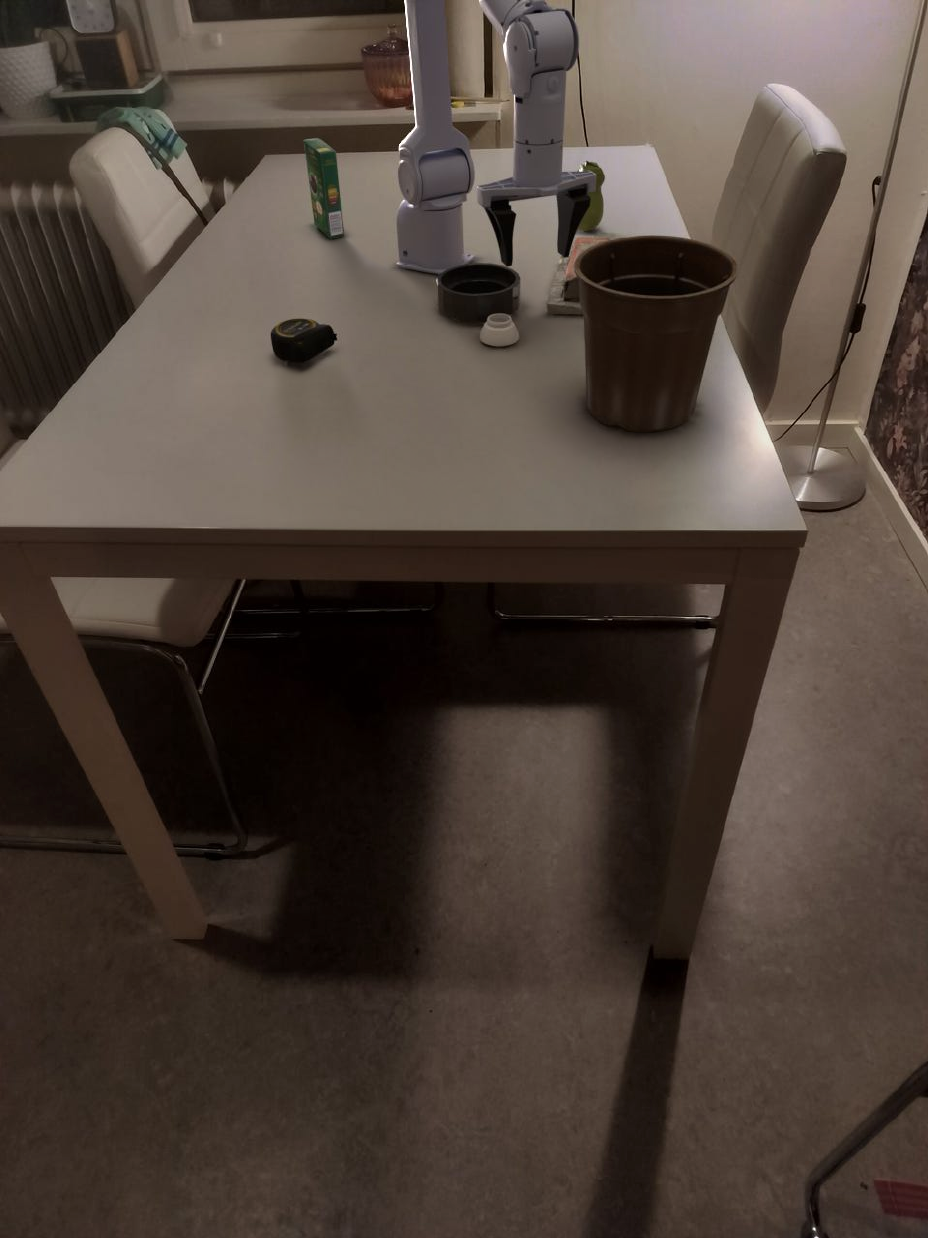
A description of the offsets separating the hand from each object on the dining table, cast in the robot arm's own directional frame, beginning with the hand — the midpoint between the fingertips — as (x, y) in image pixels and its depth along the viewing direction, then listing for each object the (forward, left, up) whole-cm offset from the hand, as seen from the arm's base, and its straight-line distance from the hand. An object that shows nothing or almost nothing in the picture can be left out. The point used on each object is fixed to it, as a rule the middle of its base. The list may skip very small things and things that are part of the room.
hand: (535, 258), depth 109 cm
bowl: (-9, +2, -9) cm, 13 cm away
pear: (-8, +37, -9) cm, 39 cm away
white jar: (-2, -5, -9) cm, 11 cm away
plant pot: (+20, -14, -9) cm, 26 cm away
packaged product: (+2, +14, -9) cm, 17 cm away
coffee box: (-46, +19, -9) cm, 51 cm away
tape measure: (-22, -20, -9) cm, 31 cm away
